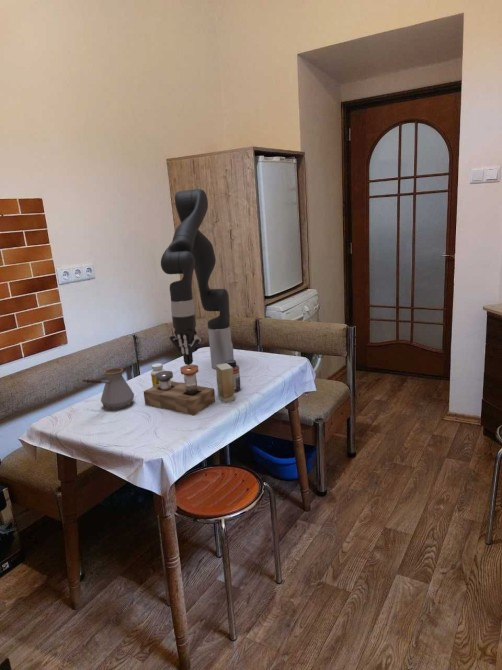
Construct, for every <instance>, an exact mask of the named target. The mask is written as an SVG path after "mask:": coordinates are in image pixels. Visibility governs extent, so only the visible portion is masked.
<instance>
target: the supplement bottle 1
mask: <svg viewBox="0 0 502 670" xmlns="http://www.w3.org/2000/svg"><path fill="white" fill-rule="evenodd" d="M161 371H166V370H165V369H164V367H163V364H162V363H160V362H159V363H158V362H157V363H153V364H152V365H151V372H150V376H151V382H152V387H154V386H156V385H158V384H159V380H156V376H155V374H156V373H158V372H161Z"/></svg>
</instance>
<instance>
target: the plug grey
mask: <svg viewBox="0 0 502 670" xmlns="http://www.w3.org/2000/svg"><path fill="white" fill-rule="evenodd" d="M155 376H156V380H159V384H160V390H163V391H167V390H169V389H171V388H172V387H171V381H172V380H171V379H173V378H174V372H173V371H171V370H165V371H161V372H158V373H156V374H155Z"/></svg>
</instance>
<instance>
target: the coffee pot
mask: <svg viewBox="0 0 502 670" xmlns="http://www.w3.org/2000/svg"><path fill="white" fill-rule="evenodd" d="M123 373H124V369H123V368H122V367H121V368H120V367H113V368H109V369H105V370H104V372H103V374H104V375H105V376H106V380H100V379H94V378H93V379H90V378H88V379H82V380H81V381H80V382H79V385H80V386H82V387H84V386H86V385H87V384H104V388H103V391H102V394H101V398H100V402H101V404H102V405H103V406H104V407H107V408H108V410H120V409H124V408H127V407H128V406H130V404H131V403H132V402H133V400H134V398H135V394H134V392H133V390H132V388H131V387H130V385H129V384H128V382H127V381H126V379H125V378H124V376H123ZM82 382H83V383H85V384H84V385H82V384H81V383H82Z"/></svg>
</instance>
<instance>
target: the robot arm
mask: <svg viewBox="0 0 502 670" xmlns="http://www.w3.org/2000/svg"><path fill="white" fill-rule="evenodd" d="M208 201H209V200H208V197H207V194H206V191H204V190H203V189H199V188H194V189H188V190H187V189H185V190H180V191H177V192H176V193H175V195H174V204H175V210H176V213H177V215H178V218H179V220H180V223H179V224H178V226H177V227H176V229H175V231H174V233H173V238H172V241H171V242H170V244H169V245H168V246H167V248H166V249H165V250H164V251H163V254H162V256H161V258H160V266H161V269H162V272H163V273H164V274H167V275H183V276H182V278H181V279H180V280H176V281H172V282H171V283H170V284H169V295H170V310H171V311H170V312H171V320H172V328H173V330H174V331H173V332H174V334H173V335H171V336H169V340H170V342H171V343H172V344H173V346H174V348H175V349H176V351H177V352H178V353H179V352H180V353H182V358H183V362H184V365H193V363H194V357H193V353H195V352H197V351H198V349H199V348H200V346H201V344H202V343H203V340H204V339H203V337H199V335H198V333H197V330H196V326H197V322H196V321H197V320H196V310H195V309H196V308H195V302H194V297H193V287H192V286H193V275H194V273H195V278H196V280H197V286H198V291H199V297H200V302H201V306H202V308H203V310H204V311H206V312H219V315H218V316H217V317H213V318H211V319H209V320H208V321H207V332H208V341H209V342H208V343H209V351H210V352H209V354H210V363H211V368H212V369H215V370H216V365H219V364H224V363H225V361H226V360H229V359H234V360H235V357H234V346H233V345H234V344H233V342H232V335H231V334H232V333H231V324H230V320H231V319H230V317H231V316H230V298H229V297H230V296H229V292H228V291H227V289H225V288H210V285H209V280H210V277H211V275H212V273H213V271H214V268H215V265H216V264H217V263H216V262H217V261H216V260H217V259H216V255H215V249H214V247H213V246H214V245H213V243H212V242H211V241H210V240H209V238H207V237H206V235H205V234H204V233H203V232H202V231H201V230H199V228H200V227H201V225H202V223H203V221H204V218H205V217H206V214H207V213H208V206H209V204H208V203H209V202H208Z"/></svg>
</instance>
